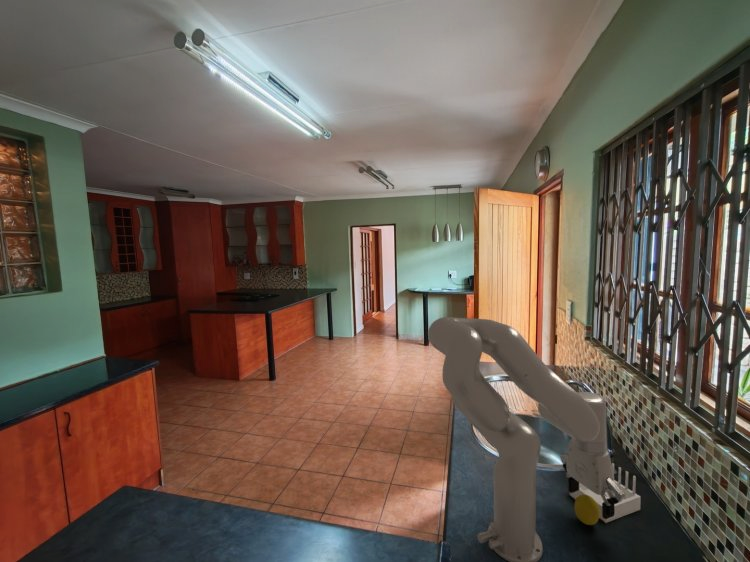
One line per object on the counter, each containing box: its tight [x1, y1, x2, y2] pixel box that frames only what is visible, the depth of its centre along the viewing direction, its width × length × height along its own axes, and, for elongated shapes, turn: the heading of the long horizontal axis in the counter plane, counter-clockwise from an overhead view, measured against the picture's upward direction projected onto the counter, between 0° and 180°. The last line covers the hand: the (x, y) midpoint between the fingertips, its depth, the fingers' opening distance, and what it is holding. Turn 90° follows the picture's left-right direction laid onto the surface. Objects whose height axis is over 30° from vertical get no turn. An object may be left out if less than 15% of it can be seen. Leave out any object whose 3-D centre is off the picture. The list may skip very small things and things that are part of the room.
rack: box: [569, 462, 642, 524], centre depth 95 cm, size 13×11×9 cm
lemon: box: [573, 495, 600, 526], centre depth 88 cm, size 6×6×8 cm
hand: (590, 503), depth 88 cm, fingers open, 9 cm apart
